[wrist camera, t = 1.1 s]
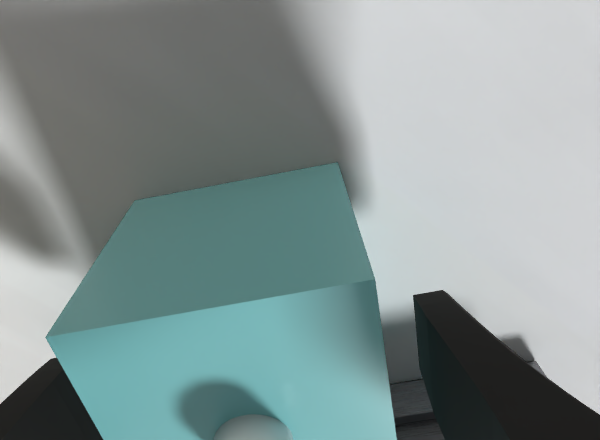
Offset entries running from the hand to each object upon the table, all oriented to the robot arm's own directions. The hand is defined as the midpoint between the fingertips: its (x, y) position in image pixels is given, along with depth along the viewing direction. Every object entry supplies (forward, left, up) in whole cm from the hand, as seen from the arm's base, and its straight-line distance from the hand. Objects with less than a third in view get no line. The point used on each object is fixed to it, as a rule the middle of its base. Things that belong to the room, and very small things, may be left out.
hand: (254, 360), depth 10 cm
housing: (0, 0, -3) cm, 3 cm away
